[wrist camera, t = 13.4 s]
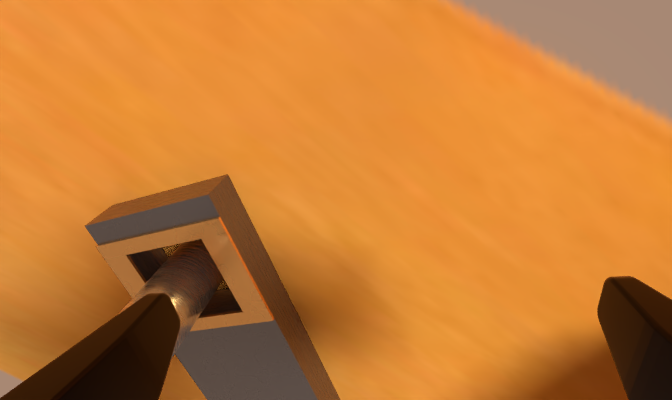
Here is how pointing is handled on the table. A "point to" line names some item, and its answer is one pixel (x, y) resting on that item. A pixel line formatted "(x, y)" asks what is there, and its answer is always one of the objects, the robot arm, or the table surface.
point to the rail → (219, 293)
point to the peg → (185, 283)
